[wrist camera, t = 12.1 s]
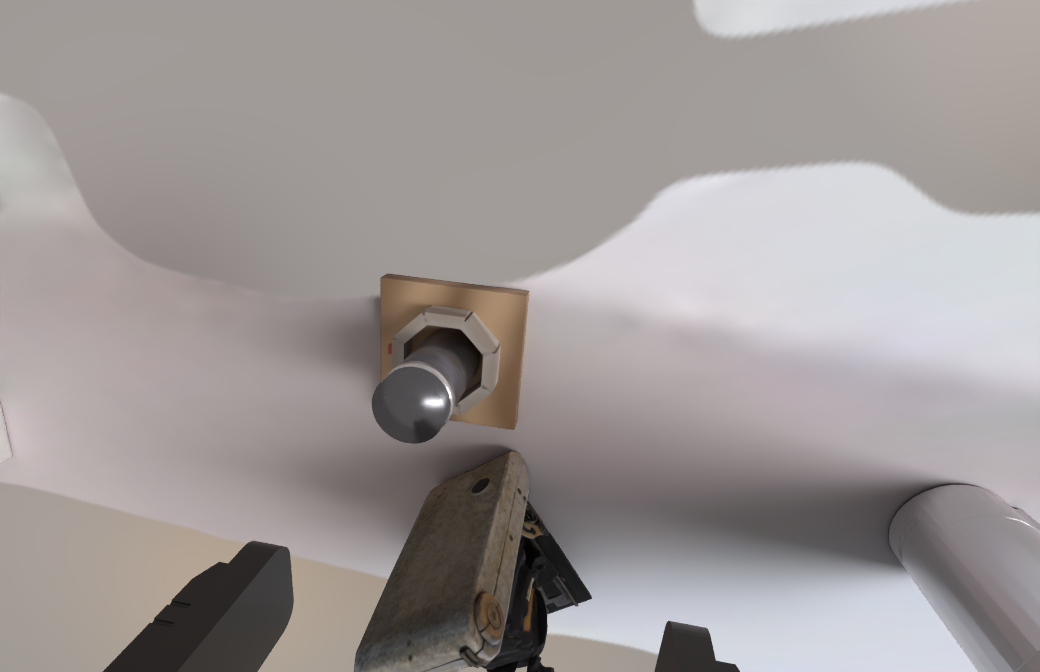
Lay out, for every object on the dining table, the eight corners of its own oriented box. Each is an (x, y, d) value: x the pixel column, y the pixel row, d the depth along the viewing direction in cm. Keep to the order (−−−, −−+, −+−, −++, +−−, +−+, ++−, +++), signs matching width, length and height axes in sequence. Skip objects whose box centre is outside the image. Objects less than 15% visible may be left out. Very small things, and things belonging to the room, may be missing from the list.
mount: (529, 291, 43) (522, 302, 40) (516, 421, 47) (510, 441, 44) (387, 273, 44) (370, 283, 41) (387, 401, 48) (371, 420, 45)
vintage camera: (514, 594, 54) (478, 831, 36) (429, 481, 50) (338, 680, 32) (598, 561, 52) (605, 800, 33) (514, 439, 48) (469, 631, 29)
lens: (484, 331, 43) (448, 380, 34) (479, 389, 45) (443, 450, 35) (422, 322, 44) (370, 367, 34) (420, 379, 45) (370, 437, 36)
